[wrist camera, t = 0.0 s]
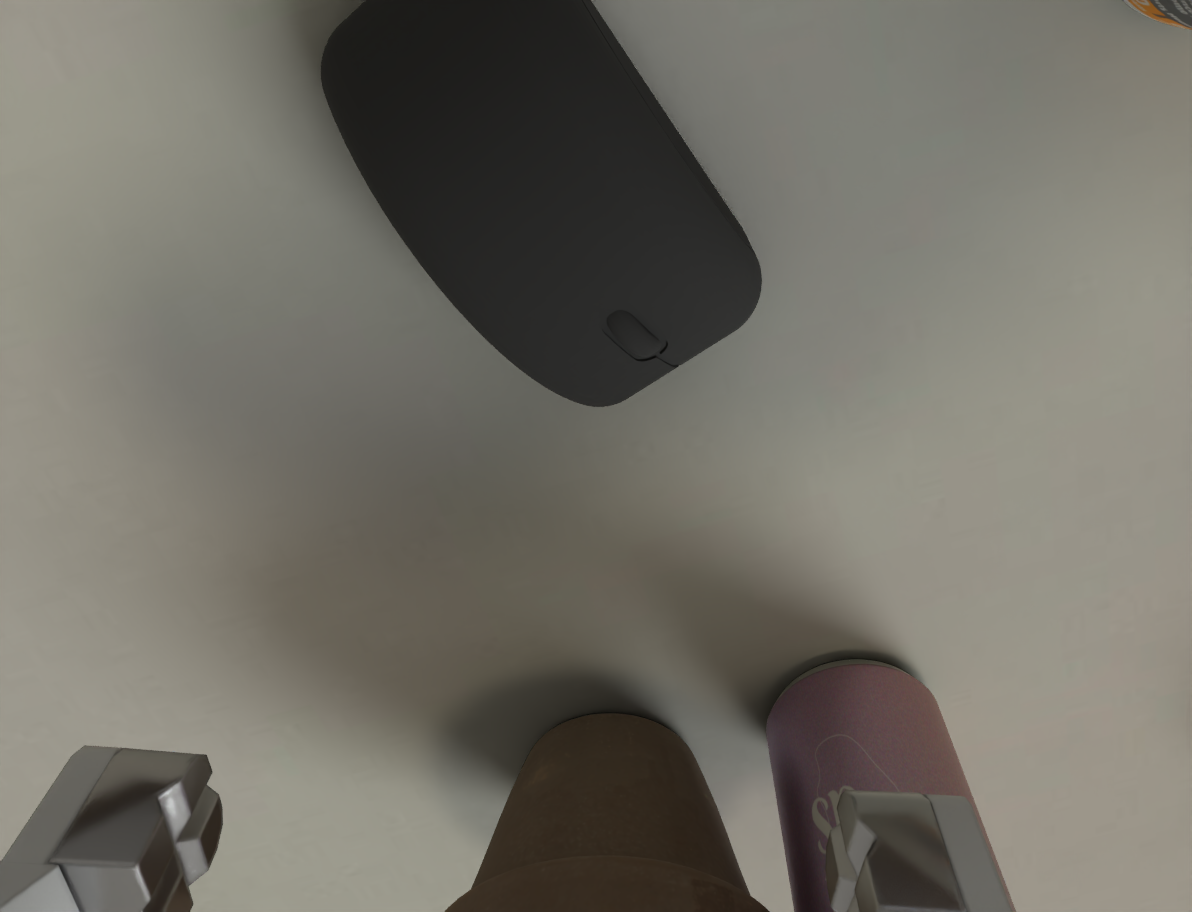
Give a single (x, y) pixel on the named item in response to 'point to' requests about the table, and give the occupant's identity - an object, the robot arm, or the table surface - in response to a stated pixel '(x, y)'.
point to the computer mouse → (541, 187)
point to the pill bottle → (1165, 11)
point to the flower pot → (609, 828)
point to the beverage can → (852, 758)
